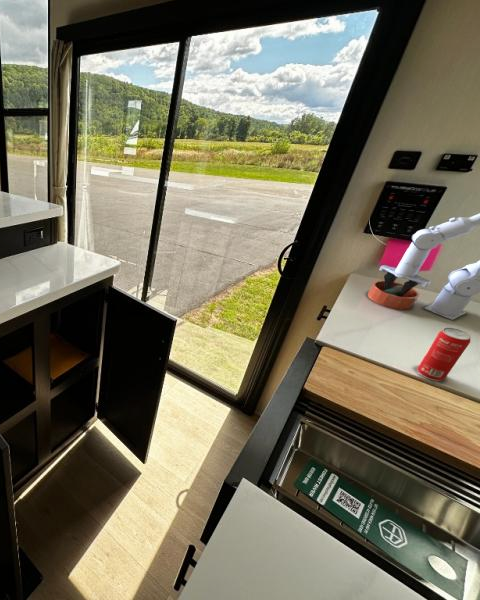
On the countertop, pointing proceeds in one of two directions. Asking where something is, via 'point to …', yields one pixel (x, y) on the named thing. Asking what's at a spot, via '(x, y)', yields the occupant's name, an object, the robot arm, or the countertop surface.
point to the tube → (394, 290)
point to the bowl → (392, 296)
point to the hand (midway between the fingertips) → (392, 294)
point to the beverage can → (443, 353)
